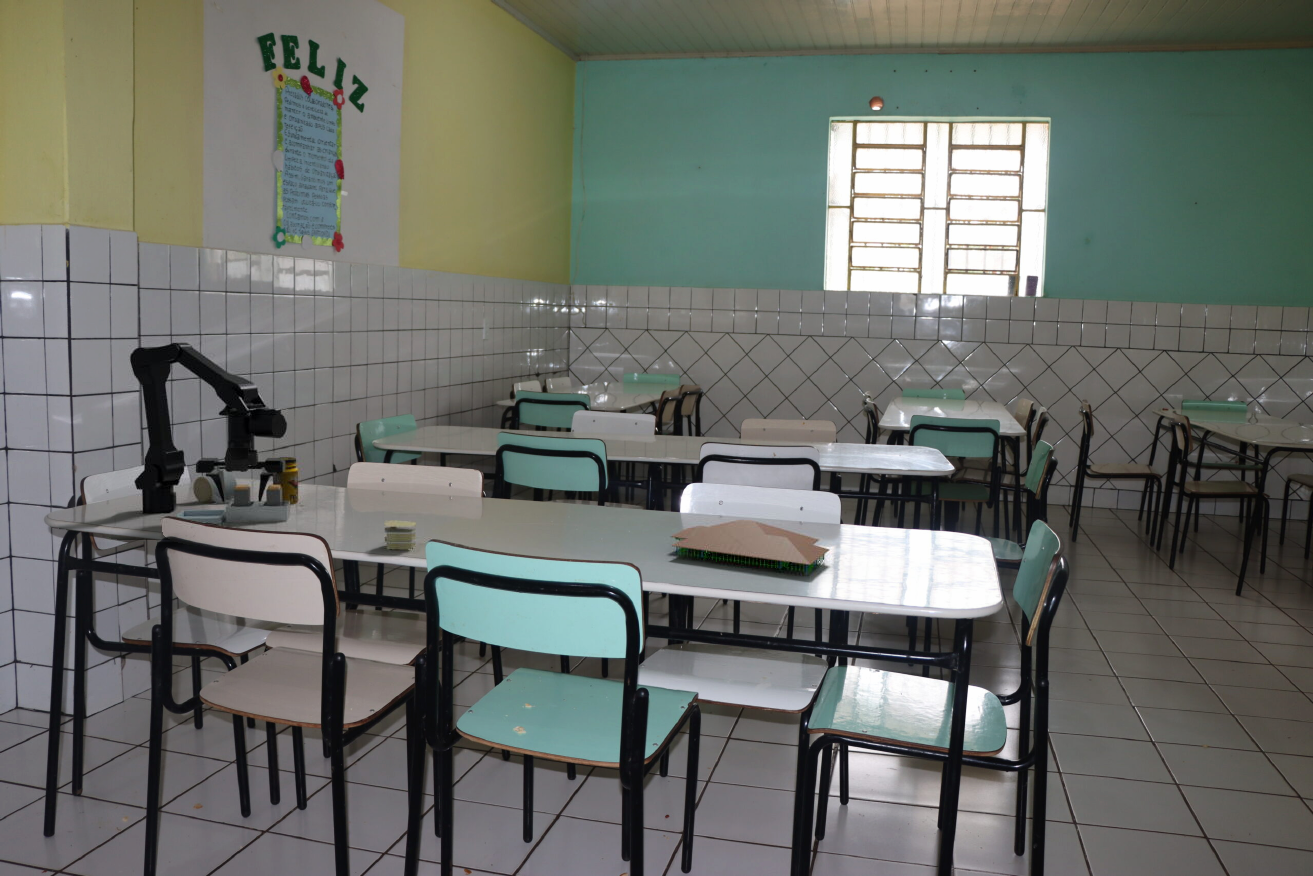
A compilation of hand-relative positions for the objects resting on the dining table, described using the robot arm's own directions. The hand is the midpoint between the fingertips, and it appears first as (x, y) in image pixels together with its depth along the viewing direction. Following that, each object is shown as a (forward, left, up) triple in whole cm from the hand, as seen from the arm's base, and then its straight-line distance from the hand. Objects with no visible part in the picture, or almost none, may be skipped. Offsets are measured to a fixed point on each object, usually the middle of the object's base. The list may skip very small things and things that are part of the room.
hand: (242, 501), depth 230 cm
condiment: (+7, +19, -5) cm, 21 cm away
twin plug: (+7, 0, -5) cm, 8 cm away
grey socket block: (+4, 0, -5) cm, 6 cm away
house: (+110, -46, -5) cm, 119 cm away
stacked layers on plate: (+36, -31, -5) cm, 47 cm away
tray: (-9, 0, -5) cm, 10 cm away
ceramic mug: (-9, +24, -5) cm, 26 cm away
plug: (0, 0, -3) cm, 3 cm away
